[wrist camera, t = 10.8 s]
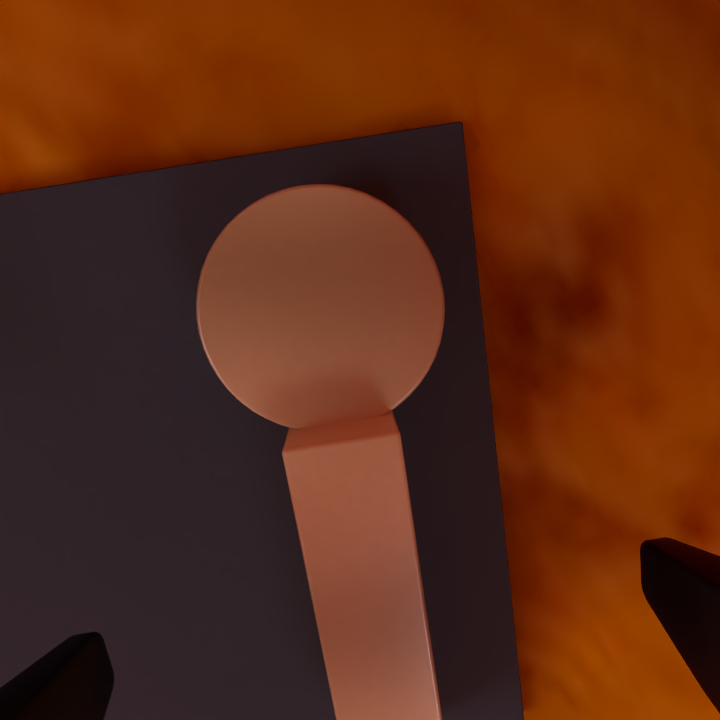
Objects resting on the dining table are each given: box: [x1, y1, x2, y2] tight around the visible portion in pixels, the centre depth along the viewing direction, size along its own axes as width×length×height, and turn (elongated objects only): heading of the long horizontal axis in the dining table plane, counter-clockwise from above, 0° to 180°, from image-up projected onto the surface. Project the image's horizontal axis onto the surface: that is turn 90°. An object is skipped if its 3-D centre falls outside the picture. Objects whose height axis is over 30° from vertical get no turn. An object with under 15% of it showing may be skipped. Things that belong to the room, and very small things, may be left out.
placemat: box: [0, 122, 524, 720], centre depth 12 cm, size 22×16×1 cm
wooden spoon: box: [196, 184, 445, 720], centre depth 11 cm, size 14×5×3 cm, turn 9°
